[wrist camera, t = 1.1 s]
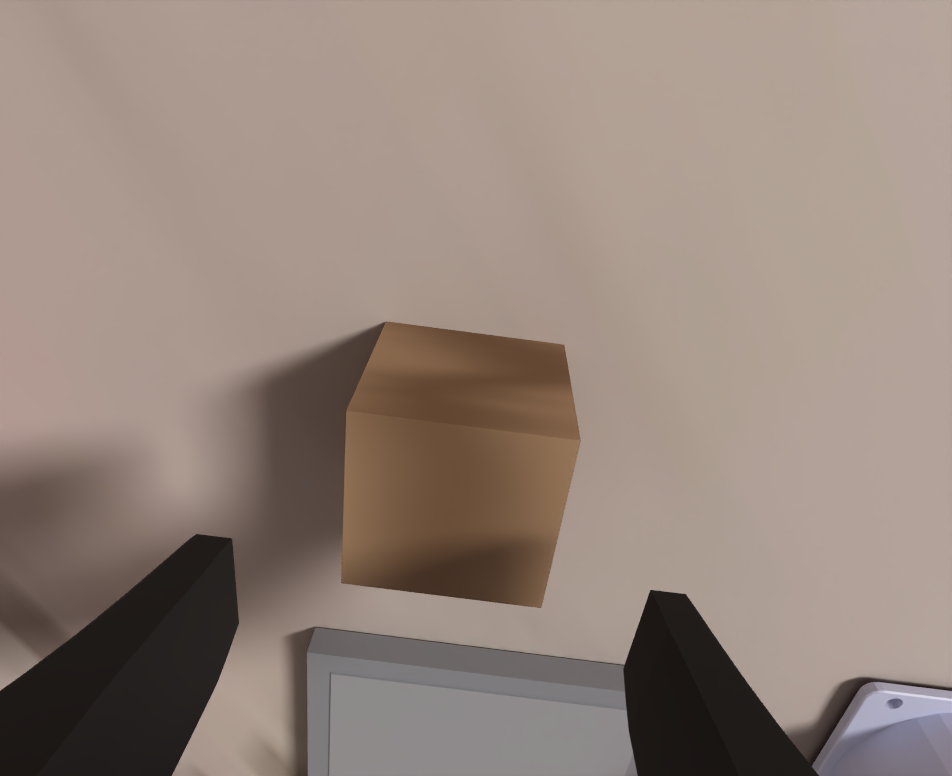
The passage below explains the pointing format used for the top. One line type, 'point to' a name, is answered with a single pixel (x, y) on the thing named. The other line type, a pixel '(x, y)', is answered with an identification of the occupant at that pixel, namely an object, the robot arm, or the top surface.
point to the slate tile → (460, 711)
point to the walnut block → (458, 465)
